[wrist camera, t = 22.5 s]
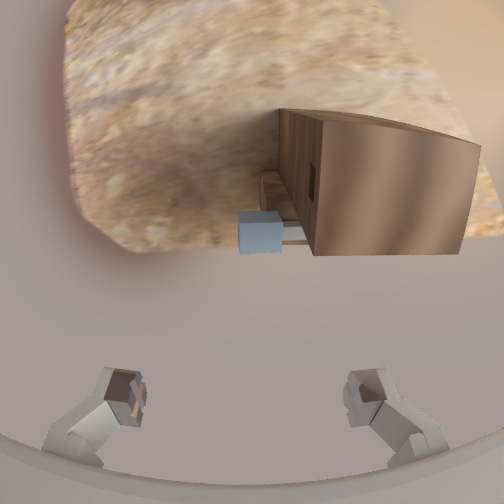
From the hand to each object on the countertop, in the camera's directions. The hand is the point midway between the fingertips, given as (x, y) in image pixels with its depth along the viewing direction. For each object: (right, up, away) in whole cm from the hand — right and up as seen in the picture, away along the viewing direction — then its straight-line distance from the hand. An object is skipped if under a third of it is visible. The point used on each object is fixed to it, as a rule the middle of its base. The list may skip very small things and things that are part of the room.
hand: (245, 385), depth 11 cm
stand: (+10, +20, +36) cm, 42 cm away
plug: (+8, +8, +26) cm, 28 cm away
